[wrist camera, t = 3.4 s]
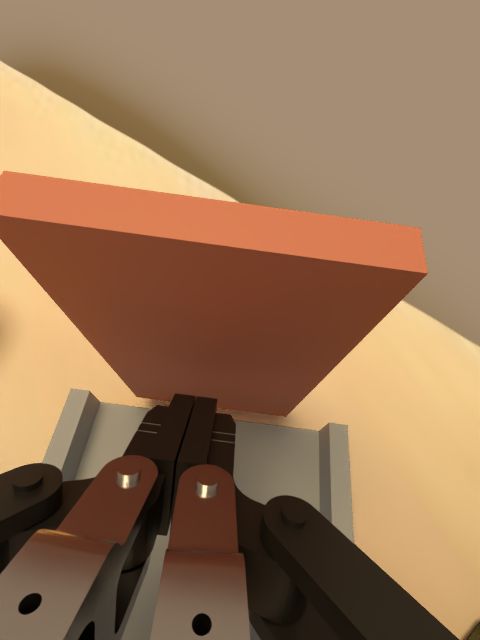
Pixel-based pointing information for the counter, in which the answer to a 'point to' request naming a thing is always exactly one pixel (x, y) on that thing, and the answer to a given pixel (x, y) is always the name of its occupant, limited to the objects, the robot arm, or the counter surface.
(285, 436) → the tray
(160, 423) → the robot arm
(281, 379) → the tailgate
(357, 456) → the counter surface
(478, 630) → the green water bottle
